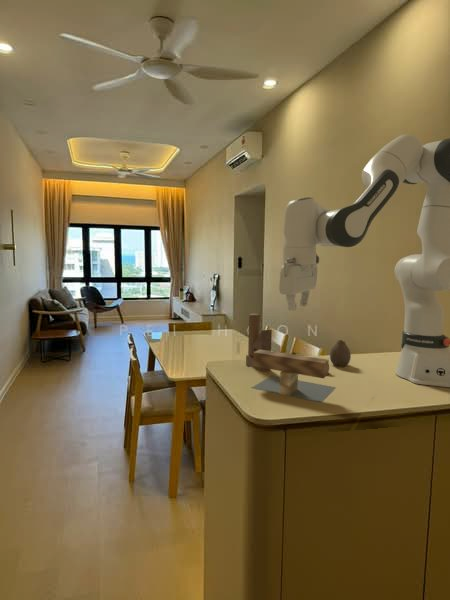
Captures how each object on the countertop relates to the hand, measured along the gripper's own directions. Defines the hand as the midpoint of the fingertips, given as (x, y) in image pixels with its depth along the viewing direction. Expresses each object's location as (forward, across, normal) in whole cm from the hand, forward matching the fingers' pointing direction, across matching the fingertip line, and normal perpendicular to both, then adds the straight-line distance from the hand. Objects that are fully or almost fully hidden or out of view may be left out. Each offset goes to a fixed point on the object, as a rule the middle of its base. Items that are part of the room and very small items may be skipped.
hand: (298, 307), depth 110 cm
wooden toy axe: (+23, +12, +18) cm, 32 cm away
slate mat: (+23, -2, 0) cm, 23 cm away
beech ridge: (+22, -6, 0) cm, 23 cm away
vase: (+24, +32, -4) cm, 40 cm away
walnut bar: (+16, -6, 0) cm, 17 cm away
